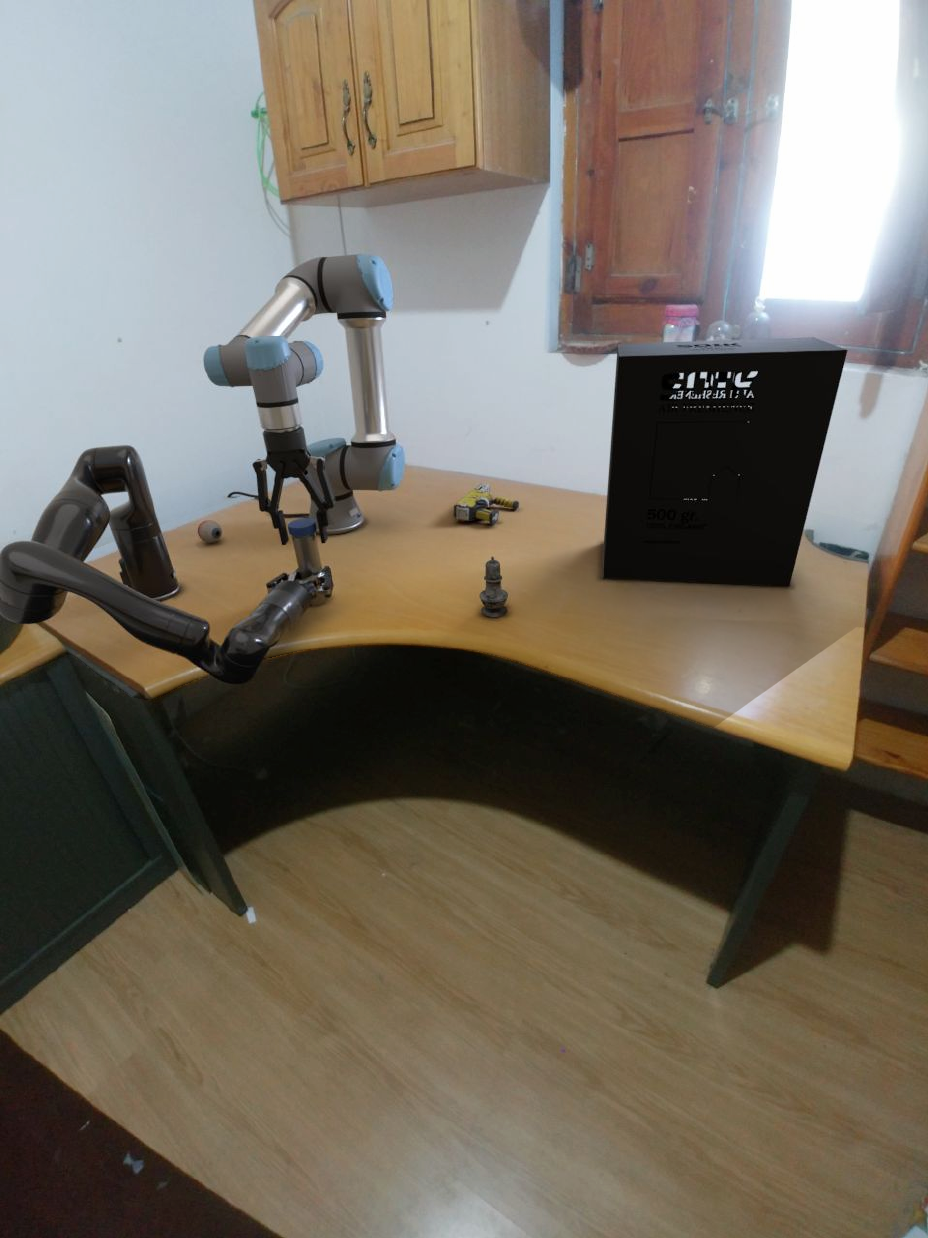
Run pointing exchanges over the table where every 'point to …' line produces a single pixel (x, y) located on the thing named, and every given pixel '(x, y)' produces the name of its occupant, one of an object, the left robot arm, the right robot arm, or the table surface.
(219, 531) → the eyeball
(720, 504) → the cardboard box
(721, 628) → the table surface
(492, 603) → the dark grey tiered cylinder
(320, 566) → the jar
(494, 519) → the toy gun
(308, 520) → the lid
